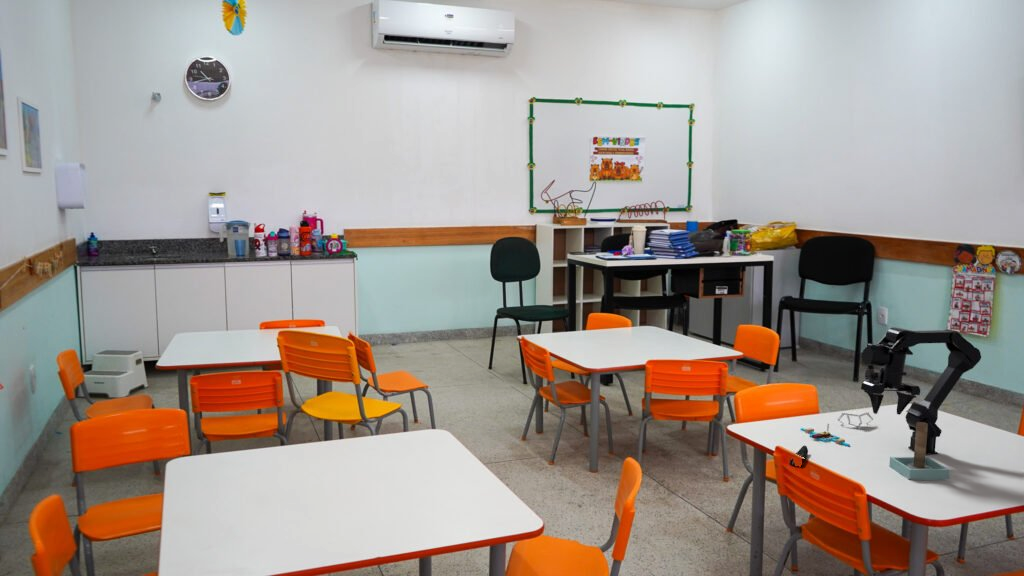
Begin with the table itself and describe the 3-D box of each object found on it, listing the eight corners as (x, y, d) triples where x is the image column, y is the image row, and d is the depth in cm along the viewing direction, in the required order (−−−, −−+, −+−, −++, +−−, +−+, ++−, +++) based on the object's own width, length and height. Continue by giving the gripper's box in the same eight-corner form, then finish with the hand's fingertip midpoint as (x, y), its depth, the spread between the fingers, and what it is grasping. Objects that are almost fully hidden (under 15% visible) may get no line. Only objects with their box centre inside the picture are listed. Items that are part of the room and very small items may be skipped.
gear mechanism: (837, 449, 249) (856, 446, 253) (838, 434, 248) (857, 430, 252) (790, 433, 266) (809, 429, 271) (791, 418, 266) (810, 415, 270)
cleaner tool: (913, 465, 231) (916, 419, 229) (933, 470, 226) (937, 424, 225) (903, 469, 227) (907, 422, 226) (924, 475, 223) (927, 427, 221)
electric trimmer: (810, 455, 243) (811, 446, 243) (801, 468, 230) (801, 458, 230) (798, 453, 245) (799, 443, 245) (788, 466, 232) (789, 456, 232)
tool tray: (927, 466, 233) (927, 457, 232) (948, 479, 222) (949, 469, 221) (889, 466, 232) (890, 457, 232) (909, 479, 221) (910, 469, 221)
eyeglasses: (854, 431, 268) (855, 417, 268) (836, 424, 276) (836, 411, 276) (879, 427, 273) (879, 414, 272) (860, 421, 281) (861, 408, 280)
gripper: (898, 362, 252) (891, 407, 254) (852, 360, 247) (845, 406, 248) (925, 370, 241) (917, 417, 243) (877, 368, 236) (869, 416, 238)
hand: (886, 413), depth 243 cm, fingers open, 9 cm apart
